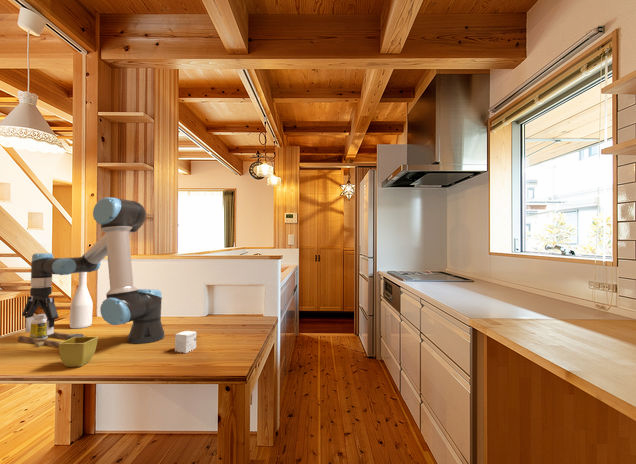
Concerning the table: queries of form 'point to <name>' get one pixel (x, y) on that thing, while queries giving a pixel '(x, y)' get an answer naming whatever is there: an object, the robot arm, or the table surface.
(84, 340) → the flower pot
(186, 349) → the skincare box
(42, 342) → the forked driftwood branch
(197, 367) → the table surface
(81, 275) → the wine bottle
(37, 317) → the pill bottle
